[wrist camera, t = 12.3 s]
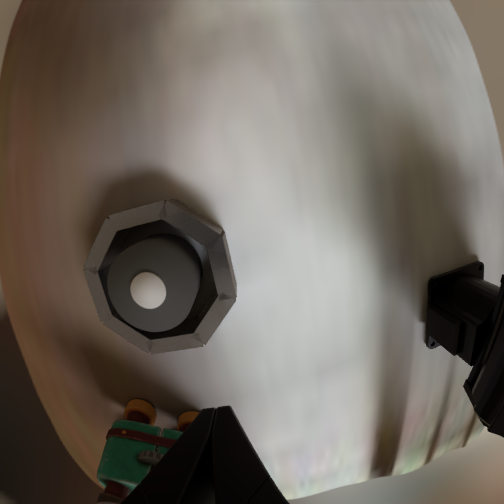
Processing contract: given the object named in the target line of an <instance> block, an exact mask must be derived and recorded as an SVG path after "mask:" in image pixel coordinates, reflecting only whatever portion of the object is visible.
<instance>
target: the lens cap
mask: <svg viewBox="0 0 504 504" xmlns="http://www.w3.org/2000/svg"><path fill="white" fill-rule="evenodd" d="M202 276H203V269H202V263H201V260H200V257H199V255H198V253H197V252H196V250H195V249H194V248H193V246H192V245H191V244H190V243H189V242H187V241H186V240H185V239H183V238H181V237H179V236H176V235H173V234H167V233H160V234H155V235H152V236H150V237H148V238H146V239H144V240H142V241H140V242H138V243H136V244H134V245H132V246H131V247H129V248H127V249H125V250H124V251H122V252H121V253H120V254H119V255H118V256H117V257H116V258H115V260H114V261H113V263H112V265H111V267H110V270H109V273H108V280H107V287H108V293H109V297H110V299H111V302H112V304H113V306H114V308H115V309H116V311H117V312H118V313H119V315H120V316H121V317H122V318H123V319H124V320H125V321H127V322H128V323H129V324H131V325H133V326H134V327H136V328H139V329H141V330H145V331H150V332H162V331H167V330H170V329H172V328H174V327H176V326H178V325H179V324H180V323H181V322H182V321H183V320H184V319H185V318H186V317H187V316H188V314H189V312H190V310H191V308H192V305H193V303H194V300H195V298H196V295H197V292H198V290H199V287H200V285H201V282H202Z"/></svg>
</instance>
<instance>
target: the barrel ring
mask: <svg viewBox="0 0 504 504" xmlns="http://www.w3.org/2000/svg"><path fill="white" fill-rule="evenodd" d="M161 219H163V220H165V221H166V222H168V223H169V224H171V225H172V226H174V227H176V228H177V229H179V230H180V231H182V232H183V233H185V234H187V235H188V236H190V237H191V238H193V239H194V240H196V241H198V242H199V243H201V244H202V245H204V246H205V247H206V248H207V252H208V256H209V260H210V265H211V269H212V273H213V277H214V281H215V285H216V291H215V292H214V294H213V295H212V297H211V299H210V300H209V302H208V303H207V305H206V306H205V308H204V309H203V311H202V312H201V314H200V315H199V317H195V318H190V319H184V320H183V321H182V322H181V323H180V324H179V325H178V326H176V327H174V328H172V329H170V330H167V331H162V332H150V331H145V330H141V329H139V328H136V327H134V326H133V325H131V324H129V323H128V322H127V321H125V320H124V319H123V318H122V317H121V316H120V315H119V313H118V312H117V311H116V309H115V308H114V306H113V304H112V302H111V299H110V297H109V293H108V287H107V280H108V273H109V270H110V267H111V265H112V263H113V261H114V259H115V257H116V255H117V253H118V251H119V249H120V247H121V245H122V243H123V241H124V239H125V237H126V235H127V233H128V231H129V229H130V227H133V226H137V225H141V224H145V223H149V222H153V221H157V220H161ZM222 230H223V229H222V228H220V227H219V226H217V225H216V224H214V223H212V222H211V221H209V220H208V219H206V218H205V217H203V216H201V215H200V214H198V213H197V212H195V211H194V210H192V209H190V208H189V207H187V206H186V205H184V204H183V203H181V202H179V201H178V200H173V199H169V200H162V201H158V202H155V203H151V204H147V205H143V206H140V207H136V208H133V209H129V210H125V211H122V212H119V213H115V214H112V215H109V217H107V218H106V219H105V221H104V223H103V225H102V227H101V229H100V231H99V233H98V235H97V238H96V240H95V242H94V244H93V246H92V248H91V251H90V253H89V255H88V258H87V260H86V262H85V264H84V267H85V268H86V269H84V273H85V276H86V280H87V283H88V286H89V289H90V292H91V295H92V298H93V301H94V304H95V307H96V310H97V313H98V315H99V318H100V321H104V323H103V325H105V326H106V327H108V328H109V329H111V330H112V331H114V332H115V333H117V334H118V335H120V336H121V337H123V338H124V339H126V340H128V341H129V342H131V343H132V344H134V345H136V346H137V347H139V348H140V349H142V350H144V351H145V352H147V353H149V351H150V352H151V354H155V353H163V352H170V351H177V350H184V349H190V348H197V347H203V344H205V345H206V343H207V342H208V341H209V339H210V338H211V336H212V335H213V333H214V332H215V330H216V329H217V328H218V326H219V325H220V323H221V322H222V320H223V319H224V317H225V316H226V315H227V313H228V312H229V310H230V309H231V307H232V306H233V304H234V303H235V301H236V297H237V283H236V279H235V275H234V270H233V266H232V262H231V257H230V253H229V248H228V244H227V239H226V235H225V232H222ZM221 232H222V233H221Z"/></svg>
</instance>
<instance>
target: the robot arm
mask: <svg viewBox="0 0 504 504" xmlns="http://www.w3.org/2000/svg"><path fill="white" fill-rule="evenodd" d="M483 277H484V264H483V263H482V262H480V261H477V262H475V263H472V264H469V265H466V266H464V267H461V268H458V269H455V270H452V271H449V272H447V273H444V274H441V275H438V276H435V277H432V278H431V279H430V280H429V283H428V310H427V339H426V346H427V347H428V348H429V349H433V348H436V347H438V346H440V345H441V346H443V347H444V348H445V349H446V350H447V351H448V352H450V353H451V354H452V355H454V356H455V355H458V356H459V357H460V358H462V359H463V360H464V361H465V362H466V363H468V364H469V365H470V366H473V368H472V370H471V372H470V375H469V377H468V379H466V381H465V383H464V385H463V387H464V389H465V391H466V393H467V395H468V397H469V399H470V401H471V403H472V405H473V407H474V411H475V413H476V414H477V416H478V418H479V419H480V421H481V422H482V424H483V425H484V426H486V427H487V428H488V429H487V430H488V431H489V432H491V433H494V434H497V435H500V436H502V437H504V274H502V277H501V281H500V282H501V286H500V287H498V286H496V285H494V284H492V283H489V282H487V281H485V280H483ZM434 282H435V285H434ZM433 285H434V286H433ZM431 343H432V344H431ZM120 504H289V503H288V501H287V500H286V499H285V497H284V496H283V495H282V493H281V492H280V490H279V489H278V487H277V486H276V484H275V483H274V481H273V479H272V478H271V477H270V475H269V473H268V471H267V470H266V468H265V466H264V465H263V463H262V461H261V460H260V458H259V456H258V455H257V453H256V451H255V449H254V448H253V446H252V444H251V442H250V441H249V439H248V437H247V435H246V433H245V432H244V430H243V428H242V426H241V424H240V422H239V421H238V419H237V417H236V415H235V413H234V411H233V409H232V407H231V406H222V407H218V408H217V409H216V408H206V409H202V410H201V411H200V413H199V414H198V415H197V416H196V418H195V419H194V420H193V421H192V422H191V424H190V425H189V426H188V427H187V429H186V430H185V431H184V432H183V433H182V435H181V436H180V437H179V438H178V439H177V441H176V442H175V443H174V444H173V445H172V447H171V448H170V449H169V450H168V451H167V452H166V454H165V455H164V456H163V457H162V458H161V459H160V461H159V462H158V463H157V464H156V465H155V466H154V467H153V469H152V470H151V471H150V472H149V473H148V474H147V475H146V476H145V478H144V479H143V480H142V481H141V482H140V484H138V485H137V486H136V487H135V488H134V490H133V491H132V492H131V493H130V494H129V495H128V496H127V497H126V498H125V499H124V500H123V501H122V502H121V503H120Z"/></svg>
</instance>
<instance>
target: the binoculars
mask: <svg viewBox="0 0 504 504" xmlns="http://www.w3.org/2000/svg"><path fill="white" fill-rule="evenodd" d="M198 414H199V412H196V411H188V412H185V413H183V414H181V415H180V417H179V419H178V423H177V431H176V430H171V429H163V431H162V435H161V437H159V435H160V431H161V428H160V427H157V426H154V423H155V420H156V416H157V414H156V411H155V409H154V408H153V406H152V405H151V404H149V403H148V402H146V401H144V400H141V399H133V400H131V401H130V402H129V403H128V404H127V407H126V409H125V412H124V416H125V419H126V420H117V421H115V422H114V423H113V425H112V427H111V429H109V431H108V433H107V436H106V440H107V442H106V445H105V448H104V451H103V454H102V458H101V461H100V464H99V468H98V471H97V479H98V481H99V482H100V483H101V485H102V486H104V487H105V490H104V493H100V494H99V497H98V500H97V503H96V504H120V503H121V502H122V501H123V500H124V499H125V498H126V497H127V496H128V495H129V494H130V493H131V492H132V491H133V490H134V488H135V487H136V486H137V485H138V484H140V482H141V481H142V480H143V479H144V478H145V476H146V475H147V474H148V473H149V472H150V471H151V470H152V469H153V467H154V466H155V465H156V464H157V463H158V462H159V461H160V459H161V458H162V457H163V456H164V455H165V454H166V452H167V451H168V450H169V449H170V448H171V447H172V445H173V444H174V443H175V442H176V441H177V439H178V438H179V437H180V436H181V435H182V433H183V432H184V431H185V430H186V429H187V427H188V426H189V425H190V424H191V422H192V421H193V420H194V419H195V418H196V416H197V415H198ZM158 446H159V447H158ZM157 448H158V451H157Z"/></svg>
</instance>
